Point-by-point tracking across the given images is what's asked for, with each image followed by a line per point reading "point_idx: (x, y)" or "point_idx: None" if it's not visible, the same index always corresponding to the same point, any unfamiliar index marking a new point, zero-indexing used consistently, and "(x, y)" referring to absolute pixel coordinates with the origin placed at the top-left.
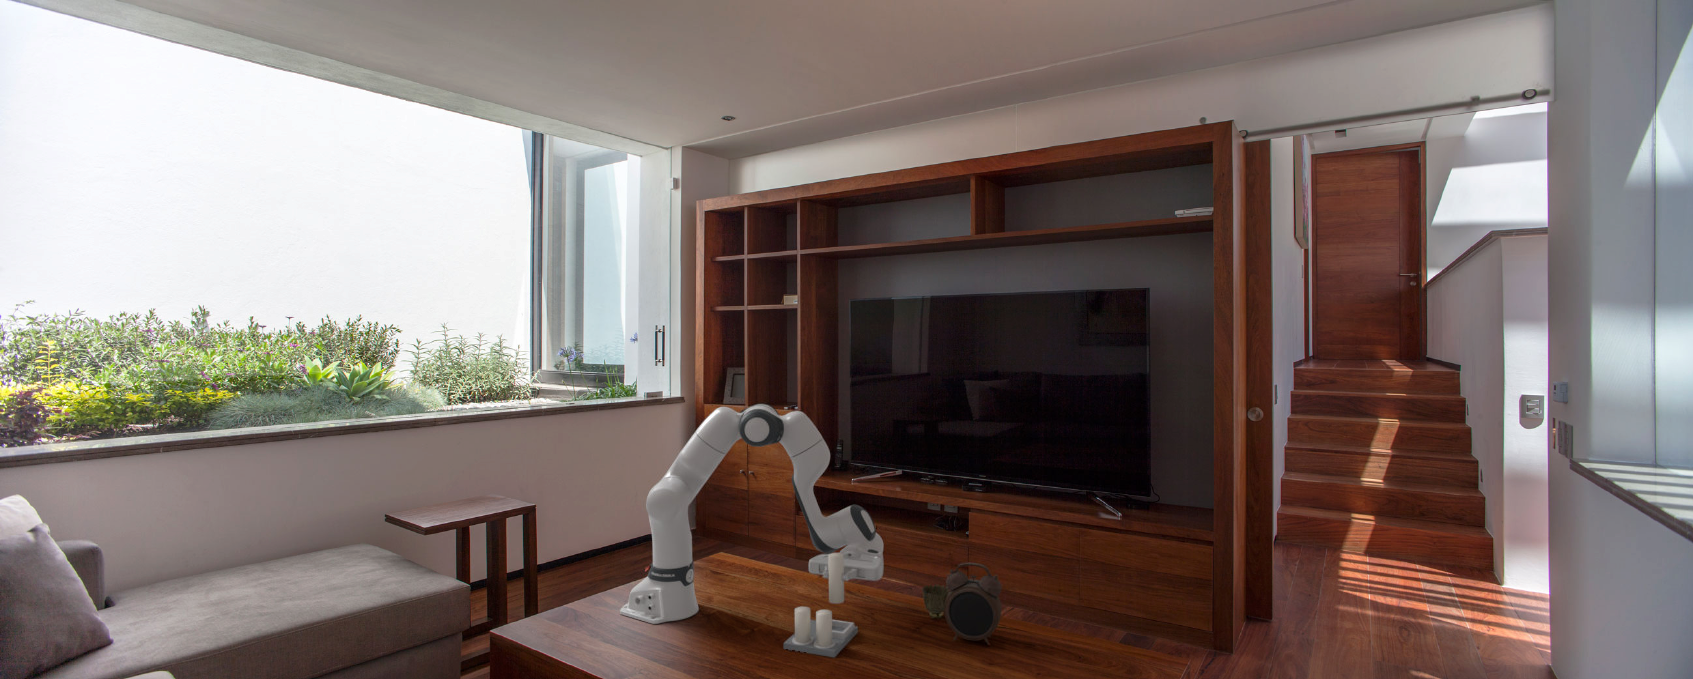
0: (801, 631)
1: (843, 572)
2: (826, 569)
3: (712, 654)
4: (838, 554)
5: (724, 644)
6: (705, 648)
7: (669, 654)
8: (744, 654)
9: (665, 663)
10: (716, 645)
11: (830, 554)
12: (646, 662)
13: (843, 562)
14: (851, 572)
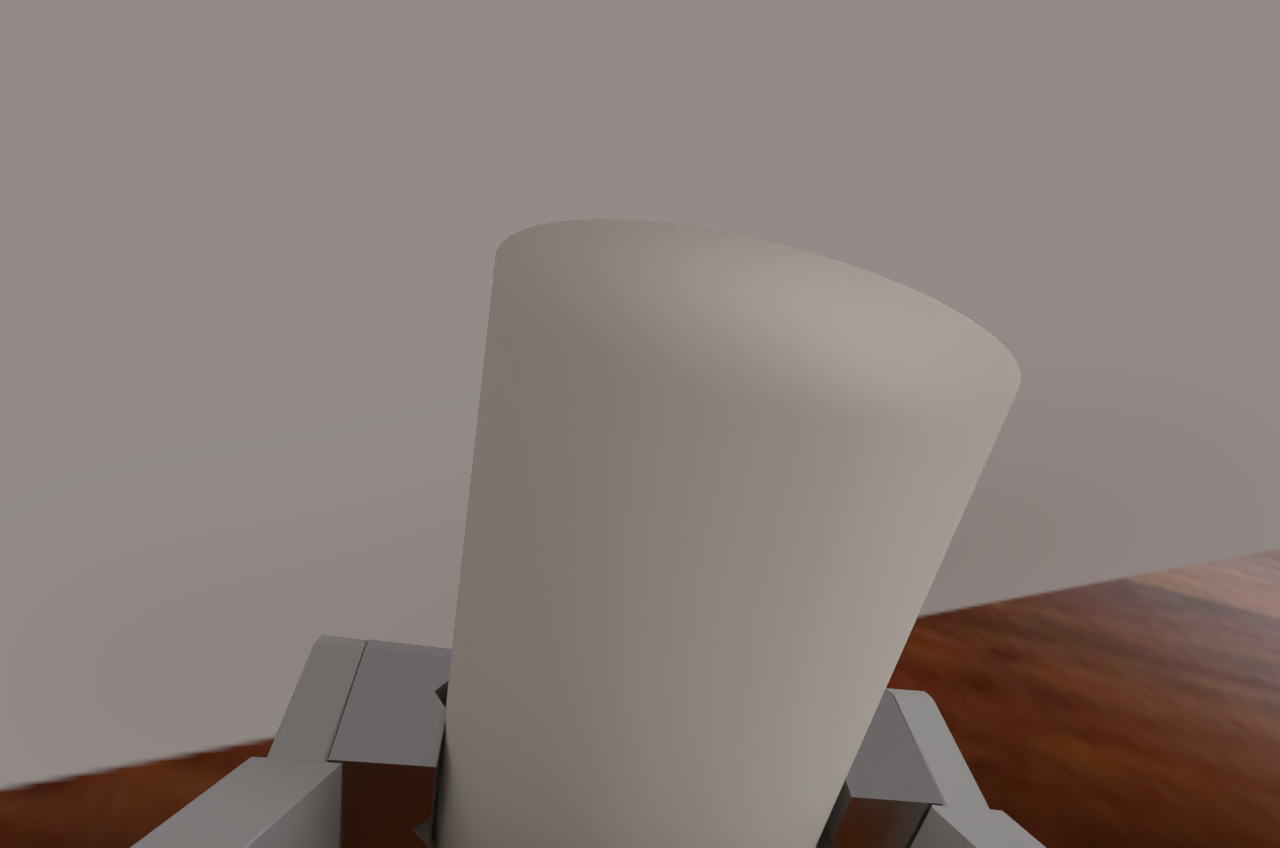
0: None
1: (446, 710)
2: (984, 824)
3: (1090, 687)
4: (708, 313)
5: (1181, 804)
6: (1192, 734)
7: (1227, 650)
8: (963, 721)
9: (1139, 589)
10: (1196, 780)
11: (946, 329)
12: (1199, 585)
13: (475, 512)
14: (197, 804)
